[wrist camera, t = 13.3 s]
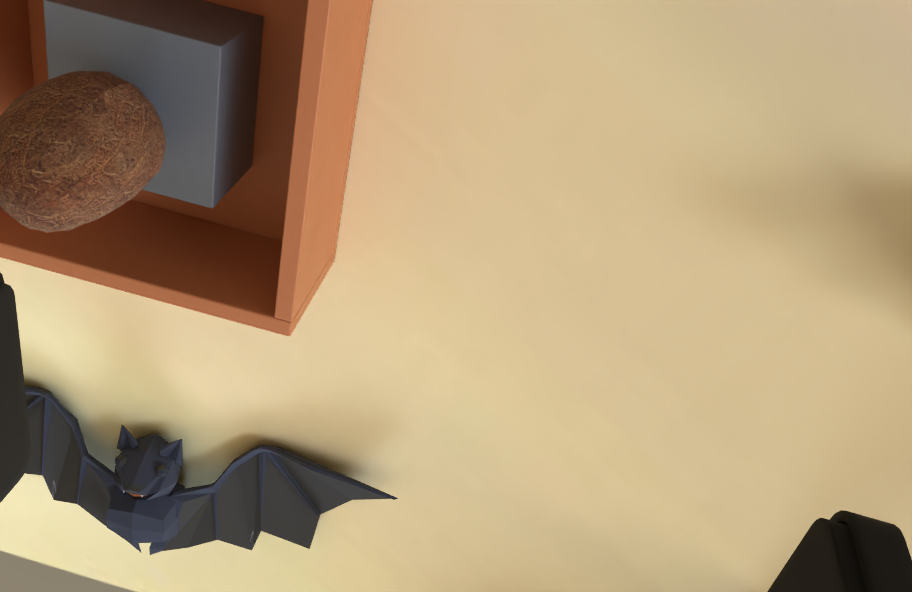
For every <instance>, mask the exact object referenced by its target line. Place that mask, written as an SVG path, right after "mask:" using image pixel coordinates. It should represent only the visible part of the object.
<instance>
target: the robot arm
mask: <svg viewBox="0 0 912 592" xmlns="http://www.w3.org/2000/svg"><path fill="white" fill-rule="evenodd" d="M30 457H31V440H30V431H29V421H28V412H27V403H26V394H25V385H24V376H23V367H22V358H21V348H20V339H19V330H18V321H17V312H16V303H15V295H14V291H13V289H12V288H11V286H10V285H7V284H5V283H4V280H3V276H2V274H1V273H0V502H1V501H2V500H3V499H4V498H5V497H6V495H7V494H8V493H9V492H10V491H11V490H12V488H13V487H14V486H15V485H16V484H17V483H18V481H19V480H20V479H21V477H22V476H23V475H24V473H25V471H26V469H27V467H28V464H29V461H30ZM768 592H912V560H911V557H910V554H909V550H908V547H907V544H906V541H905V538H904V536H903V534H902V532H901V530H900V529H899V528H898V527H897V526H896V525H894V524H890V523H887V522H883V521H880V520H876V519H873V518H869V517H866V516H862V515H859V514H855V513H852V512H848V511H839V512H837V513H835V514H834V515H833V517H832V518H831V519H830V520H828V519H824V518H819V519H817V520H816V521H815V522H814V523H813V524H812V526H811V527H810V529H809V530H808V532H807V533H806V535H805V536H804V538H803V539H802V541H801V542H800V544H799V545H798V547H797V548H796V550H795V551H794V553H793V554H792V556H791V557H790V559H789V560H788V562H787V563H786V565H785V566H784V568H783V569H782V571H781V572H780V574H779V575H778V577H777V578H776V580H775V581H774V583H773V584H772V586H771V587H770V589H769V590H768Z"/></svg>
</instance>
